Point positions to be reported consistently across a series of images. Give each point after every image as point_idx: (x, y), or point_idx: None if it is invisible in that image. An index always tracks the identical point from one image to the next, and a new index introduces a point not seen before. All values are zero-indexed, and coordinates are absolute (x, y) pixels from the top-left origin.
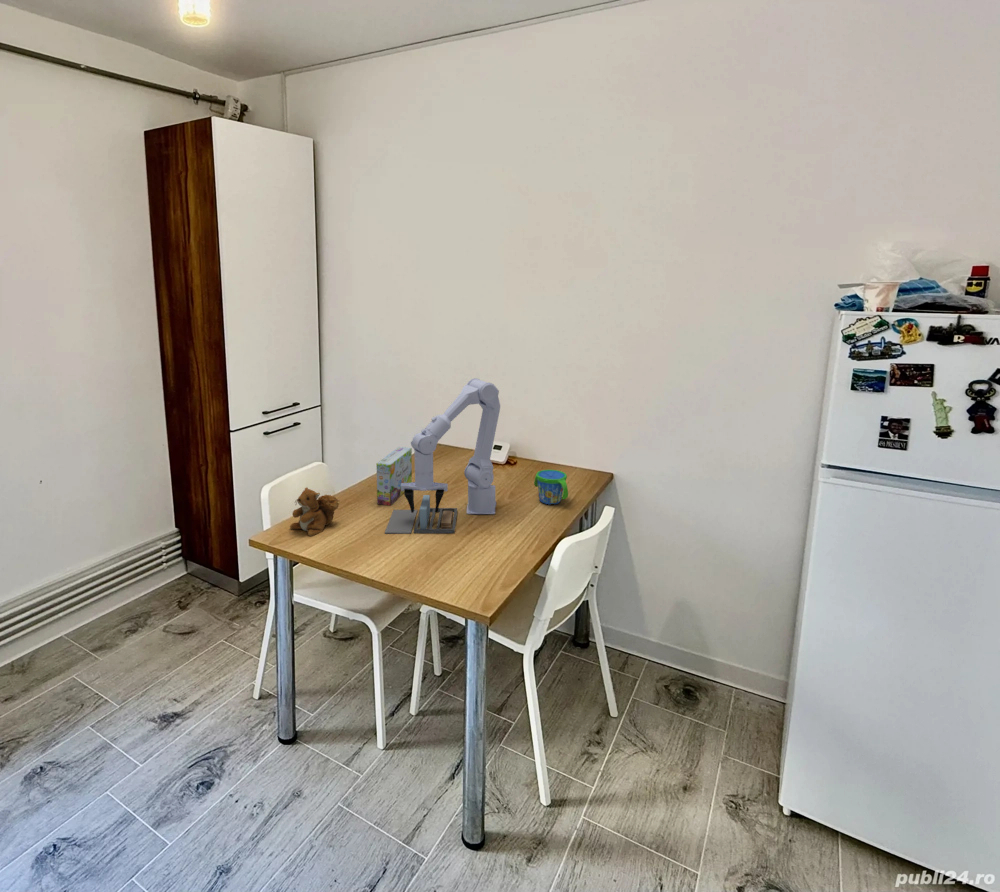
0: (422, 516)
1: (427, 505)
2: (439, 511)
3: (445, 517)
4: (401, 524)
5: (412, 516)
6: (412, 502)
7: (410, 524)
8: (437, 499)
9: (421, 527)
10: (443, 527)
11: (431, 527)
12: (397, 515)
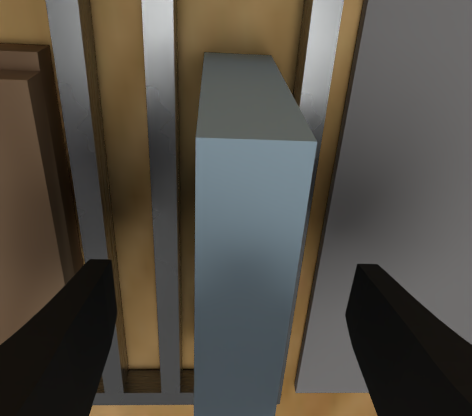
0: (255, 95)
1: (195, 309)
2: (133, 375)
3: (18, 227)
4: (447, 158)
5: (336, 302)
6: (414, 354)
7: (364, 157)
8: (2, 387)
9: (258, 60)
10: (10, 48)
11: (144, 37)
12: (450, 316)
